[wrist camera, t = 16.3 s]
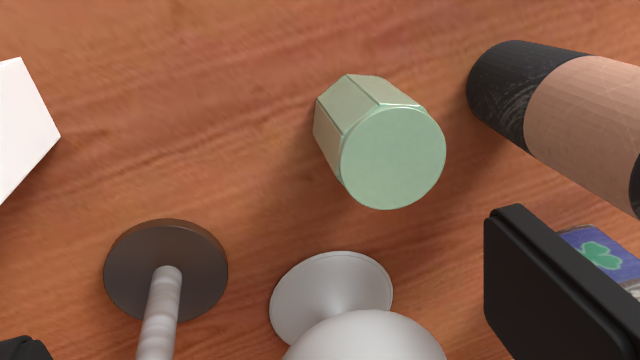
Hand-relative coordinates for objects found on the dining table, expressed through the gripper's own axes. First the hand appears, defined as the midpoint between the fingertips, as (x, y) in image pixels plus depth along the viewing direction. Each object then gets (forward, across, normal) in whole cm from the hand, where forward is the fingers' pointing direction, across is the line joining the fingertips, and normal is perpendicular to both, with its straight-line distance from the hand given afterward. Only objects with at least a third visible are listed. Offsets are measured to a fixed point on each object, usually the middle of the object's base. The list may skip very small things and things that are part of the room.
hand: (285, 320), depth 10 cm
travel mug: (+27, -21, +7) cm, 35 cm away
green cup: (+27, -8, +7) cm, 29 cm away
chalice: (+27, -3, +24) cm, 37 cm away
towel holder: (+27, +10, +16) cm, 33 cm away
